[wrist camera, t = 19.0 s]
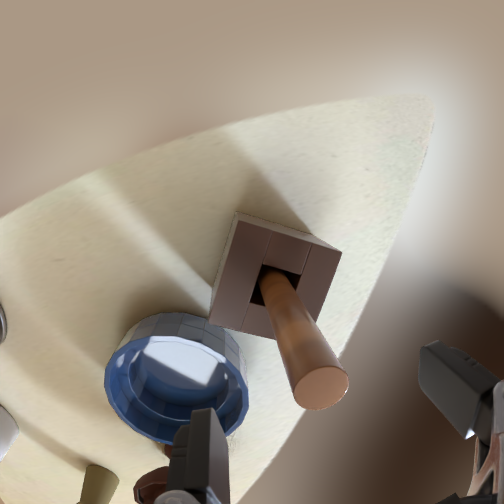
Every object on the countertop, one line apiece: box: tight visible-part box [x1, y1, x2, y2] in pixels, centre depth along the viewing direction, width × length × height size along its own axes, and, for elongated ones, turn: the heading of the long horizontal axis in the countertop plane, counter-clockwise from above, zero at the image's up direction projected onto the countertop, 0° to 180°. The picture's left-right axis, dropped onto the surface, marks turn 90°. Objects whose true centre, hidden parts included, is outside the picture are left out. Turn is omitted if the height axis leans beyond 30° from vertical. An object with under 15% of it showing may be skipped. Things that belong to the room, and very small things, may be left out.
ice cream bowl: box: [133, 444, 173, 504], centre depth 27 cm, size 11×11×15 cm
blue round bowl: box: [104, 312, 249, 445], centre depth 29 cm, size 14×14×6 cm
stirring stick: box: [257, 264, 349, 410], centre depth 20 cm, size 2×2×20 cm
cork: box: [77, 465, 119, 504], centre depth 30 cm, size 6×6×11 cm
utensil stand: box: [208, 211, 342, 340], centre depth 26 cm, size 8×8×8 cm
